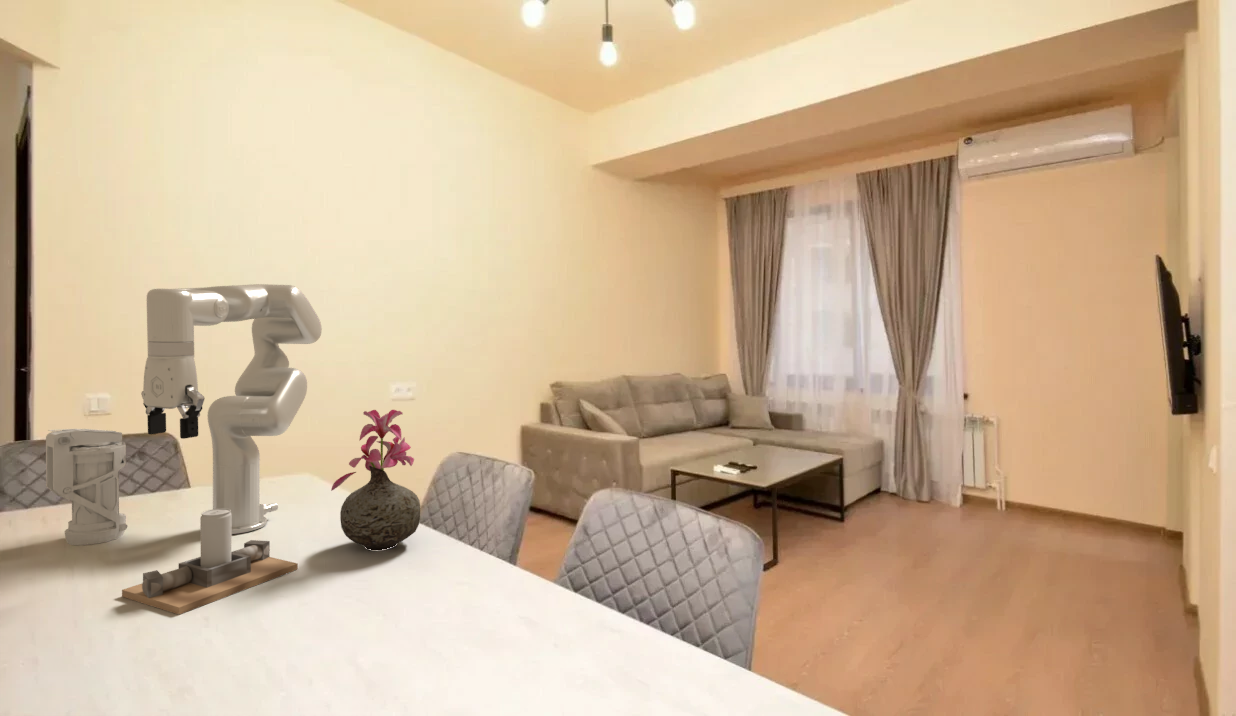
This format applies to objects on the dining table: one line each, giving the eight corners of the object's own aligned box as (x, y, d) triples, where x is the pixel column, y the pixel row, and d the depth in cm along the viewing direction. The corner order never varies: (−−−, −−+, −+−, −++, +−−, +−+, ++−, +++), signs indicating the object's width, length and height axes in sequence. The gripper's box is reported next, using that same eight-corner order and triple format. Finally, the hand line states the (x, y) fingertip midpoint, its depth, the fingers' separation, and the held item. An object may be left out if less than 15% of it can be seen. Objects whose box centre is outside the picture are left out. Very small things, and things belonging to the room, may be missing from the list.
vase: (434, 546, 134) (435, 412, 133) (355, 566, 121) (356, 418, 120) (397, 529, 145) (398, 405, 144) (322, 546, 132) (323, 410, 132)
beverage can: (237, 572, 114) (237, 509, 114) (215, 581, 109) (215, 516, 109) (216, 569, 115) (216, 507, 115) (193, 579, 110) (193, 514, 110)
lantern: (114, 528, 142) (114, 422, 142) (134, 536, 137) (134, 426, 136) (41, 543, 131) (41, 428, 131) (59, 552, 126) (59, 433, 125)
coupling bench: (244, 556, 126) (244, 535, 125) (298, 569, 119) (298, 547, 119) (121, 596, 105) (121, 571, 105) (178, 614, 99) (178, 588, 99)
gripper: (122, 349, 120) (124, 434, 121) (180, 353, 114) (182, 442, 115) (162, 348, 127) (164, 429, 128) (219, 351, 121) (220, 436, 122)
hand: (173, 435), depth 121 cm, fingers open, 9 cm apart
